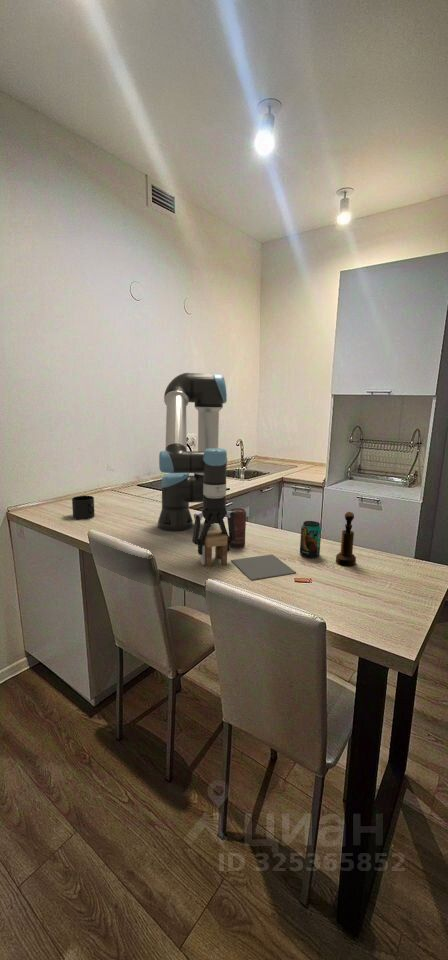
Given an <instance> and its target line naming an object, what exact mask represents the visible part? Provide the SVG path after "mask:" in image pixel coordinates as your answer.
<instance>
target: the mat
mask: <svg viewBox="0 0 448 960" xmlns="http://www.w3.org/2000/svg"><path fill="white" fill-rule="evenodd" d="M230 562H231V563H232V564H233V565H234V566H235V567H236V568H237V569H238V570H239V571H241V573H242V574H243V575H244V576H246V577H247V578H248V579H249V580H250V581H257V580H264V579H268V578H276V577H282V576H289V575H295V574H297V572H296V571H295V570H294V569H292V568H291V567H290V566H289V565H287V564H286V563H284V562H283V561H282V560H281V559H279V558H278V557H277V556H275V555H274V554H272V553H271V554H265V555H259V556H257V555H256V556H250V557H243V558H237V559H230Z"/></svg>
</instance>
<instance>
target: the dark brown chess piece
mask: <svg viewBox="0 0 448 960" xmlns="http://www.w3.org/2000/svg"><path fill="white" fill-rule="evenodd" d="M344 519H345V522H346V524H344V527H345V529H344V530H342V531H341V539H340V540H341V542H340V543H341V544H340V552H339V553H337V554H336V555H335V563H337V564H338V565H340V566H343V567H344V566H345V567H351V566H352V567H353V566H355V565H356V563H357V558H356V557H357V556H355V554H353V552H354V551H353V549H354V539H355V538H354V537H355V532H354V531H353V530H352V528H353V524H352V522H353V520H354V519H355V514H354V513H353V512H351V511H346V513H345V514H344Z"/></svg>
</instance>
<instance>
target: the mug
mask: <svg viewBox="0 0 448 960" xmlns="http://www.w3.org/2000/svg"><path fill="white" fill-rule="evenodd" d="M71 504H72V505H71V506H72V518H73V519H74V518H76V519H75V520H79V519H84V520H89V519H88V518H90V519H92V517H93V518H94V517H95V515H96V514H95V497H94V496H93V495H92V496H91V495H79V496H78V495H77V496H74V497H72V498H71Z"/></svg>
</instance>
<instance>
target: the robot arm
mask: <svg viewBox="0 0 448 960" xmlns="http://www.w3.org/2000/svg"><path fill="white" fill-rule="evenodd" d="M163 395H164V396H163V398H164V399H163V402H164V405H165V406H166V415H165V417H166V418H165V422H166V423H165V450H162V451H160V452H159V454H158V458H159V459H158V467H159V471H160V472H161V473H165V475H162V477H161V478H162V479H161V486H160V488H161V511H160V513H159V516H158V519H157V527H158V528H159V529H161V530H163V531H169V532H179V531H185V530H189V529H191V528H193V532H192V539H191V542H192V543H193V544H194V546H195V545H196V546H197V554H198V555H199V556H200V560H199V562H200V564H201V565H203V566H204V565H205V566H206V561H205V545H204V544H203V543H204V541H205V536H206V535H207V533H208V531H210V528H211V527H212V525H214V524H215V525H216V524H218V526H219V530H221V531H222V533H223V534H225V535H227V536H228V539H227V552H229V551H230V548H231V547H230V543H231V541H232V540H235V531H234V521H233V519H234V512H232V511H231V510H227V509H226V508H227V497H226V495H227V468H228V467H227V466H228V457H227V456H228V455H227V454H228V453H227V450H226V449H224V448H219V433H220V432H219V429H220V428H219V427H220V426H219V425H220V424H219V423H220V420H219V419H220V411H221V410H222V409H223V406H224V404H226V403H227V401H228V399H227V397H228V395H227V386H226V380H225V377H224V375H222V374H220V373H213V372H211V373H205V372H204V373H203V372H202V373H201V372H198V373H197V372H195V373H194V372H183V373H180V374H178V375H177V376H175V377H174V378H173V379H172V380H170V382H169V383H168V385H167V387H166V388H165V390H164V394H163ZM189 403H194V408H195V409H196V411H197V412H198V413H197V415H198V417H197V451H196V450H195V451H194V450H193V451H192V450H188V449H187V447H188V445H187V444H188V443H187V441H188V440H187V435H188V434H187V433H188V431H187V406H188V404H189ZM166 473H167V474H166ZM190 474H193V475H190ZM190 503H194V504H195V503H197V504H198V503H202V511H201V512H200V513H193V517H192V514H191V511H190ZM225 517H227V528H228V531H227V528H226V525H225V521H224V519H225ZM203 518H204V522H203V526H202V528H201V521H202V520H203ZM193 519H194V520H193ZM200 529H201V531H200Z"/></svg>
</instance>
